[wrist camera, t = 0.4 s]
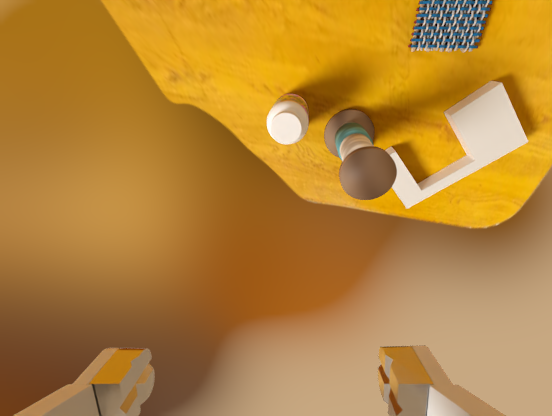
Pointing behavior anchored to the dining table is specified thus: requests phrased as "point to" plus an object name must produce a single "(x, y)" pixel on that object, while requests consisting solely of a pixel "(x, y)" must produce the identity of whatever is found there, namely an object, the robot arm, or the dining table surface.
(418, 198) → the notched board
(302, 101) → the supplement bottle
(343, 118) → the bobbin
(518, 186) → the dining table surface
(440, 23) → the woven mat
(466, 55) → the dining table surface
